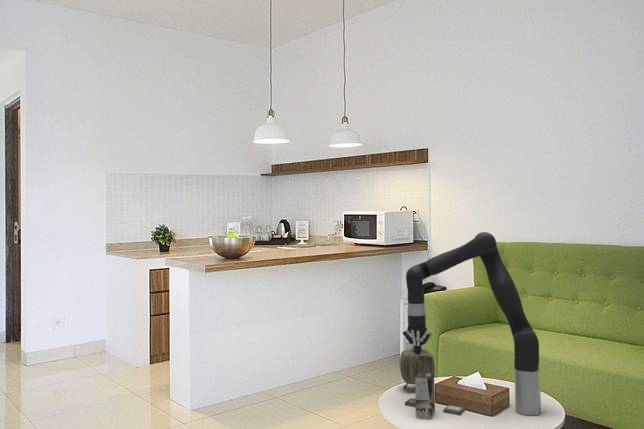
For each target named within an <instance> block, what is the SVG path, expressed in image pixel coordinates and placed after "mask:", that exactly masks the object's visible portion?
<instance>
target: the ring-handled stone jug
mask: <svg viewBox="0 0 644 429" xmlns="http://www.w3.org/2000/svg"><path fill="white" fill-rule="evenodd" d="M424 338H425V337H423V338H422V341H423V340H424ZM421 348H422V352H421V353H420V355H416V354H415V353H414V345H413V346H412V347H411V349H405V350H402V351H401V353H400V358H399V369H400V374H401V378H402V379H403V380H404V382H405V384H404V385H403V389H405V390H406V389H407V388H408V385H414V386H415V377H416V376H417V374H418V373H419V372H432V373H434V374H435V370H436V368H435V367H436V366H435V361H434V360H435V358H434V356H433V354H432V353H431V352H430V351H429V350H427V349H423V346H421Z"/></svg>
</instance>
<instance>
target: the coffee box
mask: <svg viewBox="0 0 644 429" xmlns="http://www.w3.org/2000/svg"><path fill="white" fill-rule="evenodd" d="M414 386H415V395H414V396H415V398H414V399H416V407H415V418H417V419H425V420H432V419H433V416H434V414H435V413H436V406H435V405H436V401H435V372H434V373H432V372H419V373H418V374H417V376H416V377H415V385H414Z"/></svg>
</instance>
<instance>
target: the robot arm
mask: <svg viewBox="0 0 644 429" xmlns="http://www.w3.org/2000/svg"><path fill="white" fill-rule="evenodd" d="M497 245H498V244H497V240H496V238H495V236H494V235H493V234H491V233H490V232H487V231H482V232H478V233H476V235H475V237H474V238H472V239H471V240H469V241H468V242H467V243H464V244H462V245H461V246H458V247H457V248H456V247H455V248H454V249H450V250H448V251H445V252H442V253H441V254H438V255H436V256H434V257H431V258H429V259H427V260H426V261H424V262H421V263H418V264H416V265H413V266H411V267H410V268H408V270H407V271H406V274H405V280H406V288H407V311H406V312H407V325H408V326H407V328H406V330H404V331H403V332H402V334H403V336H404V338H405V340H407V341H408V343H409V345H413V346H414V353H415V354H416V355H420V353H421V352H422V349H423V346H424V345H425V344H427V343H428V341H429V339H430V338H431V337H432V336H433V333H432V332H430V331H428V328H427V321H426V319H427V318H426V317H427V316H426V305H425V292H424V287H423V286H424V284H423V283H424V280H425V279H428V278H430V277H431V276H435V275H436V276H437V275H438V274H441V273H443V272H446V271H448V270H449V269H451V268H454V267H455V266H457V265H460V264H462V263H464V262H467V261H469V260H472V259H475V258H478V257H479V258H480V260H481V261H482V264H483V266H484V268H485V272H486V275H487V279H488V283H489V286H490V288H491V291H492V294H493V296H494V299H495V301H496V302H497V305H498V306H499V308H500V310H501V312H502V313H503V315H504V317H505V318H506V320H507V322H508V325H509V328H510V331H511V334H512V340H513V349H514V350H513V351H514V363H513V364H514V366H513V368H514V406H515V408H514V409H515V412H516V413H517V414H520V415H524V416H539V415H540V413H541V412H542V401H541V397H542V396H541V387H540V378H539V377H540V370H539V369H540V367H539V366H540V342H539V339H538V336H537V333H536V332H535V331H534V329H533V328H532V326H531V324H530V322H529V320H528V318H527V316H526V313H525V312H524V309H523V308H524V307H523V303H522V300H521V297H520V294H519V292H518V289H517V287H516V284H515V282H514V280H513V278H512V276H511V274H510V273H509V271H508V268H507V267H506V265H505V264H504V262H503V260H502V258H501V255H500V252H499V248H498V246H497ZM424 336H425V337H424ZM422 338H424V340H423V339H422ZM421 347H422V348H421Z"/></svg>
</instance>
